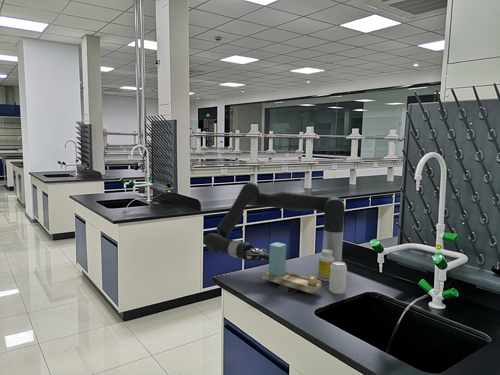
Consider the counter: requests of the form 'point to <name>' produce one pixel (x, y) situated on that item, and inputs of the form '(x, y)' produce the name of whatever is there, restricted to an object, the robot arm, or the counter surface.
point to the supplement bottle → (325, 265)
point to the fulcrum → (286, 289)
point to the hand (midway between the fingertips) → (272, 258)
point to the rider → (277, 259)
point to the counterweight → (312, 281)
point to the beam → (292, 281)
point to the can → (338, 277)
